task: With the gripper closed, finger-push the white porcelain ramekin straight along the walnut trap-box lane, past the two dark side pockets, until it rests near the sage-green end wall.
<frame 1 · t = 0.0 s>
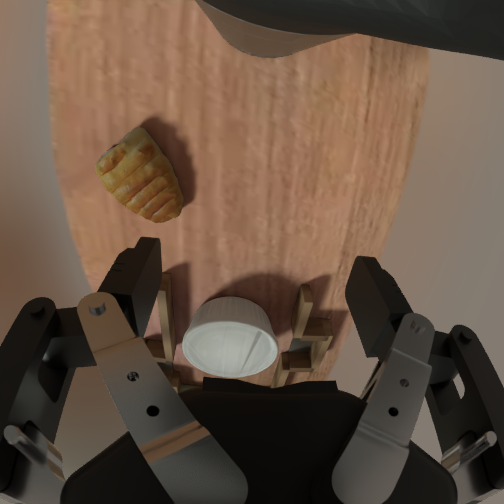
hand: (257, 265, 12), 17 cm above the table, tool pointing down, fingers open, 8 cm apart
ramekin: (231, 319, 39), on the table
pastry: (144, 169, 28), on the table
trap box: (229, 345, 41), on the table
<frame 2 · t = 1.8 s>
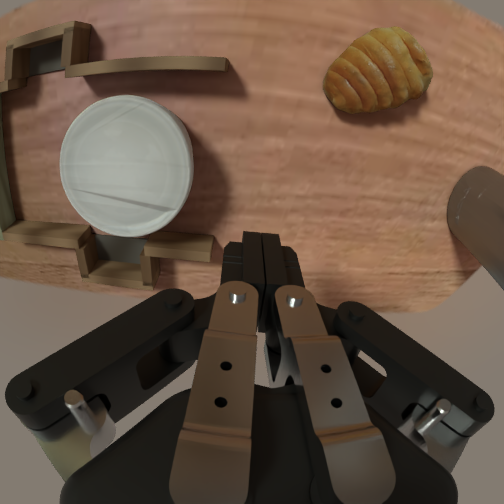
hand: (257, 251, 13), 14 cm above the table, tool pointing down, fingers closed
ramekin: (141, 153, 25), on the table
pastry: (376, 72, 21), on the table
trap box: (91, 154, 24), on the table
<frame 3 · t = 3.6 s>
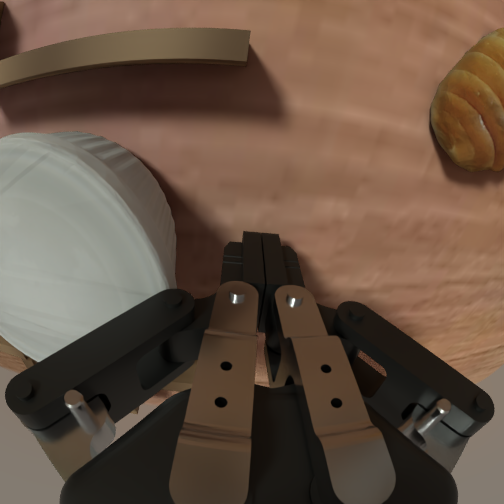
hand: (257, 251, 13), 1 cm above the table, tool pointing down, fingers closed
ramekin: (88, 223, 14), on the table, touching gripper
pastry: (494, 97, 10), on the table
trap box: (17, 222, 13), on the table
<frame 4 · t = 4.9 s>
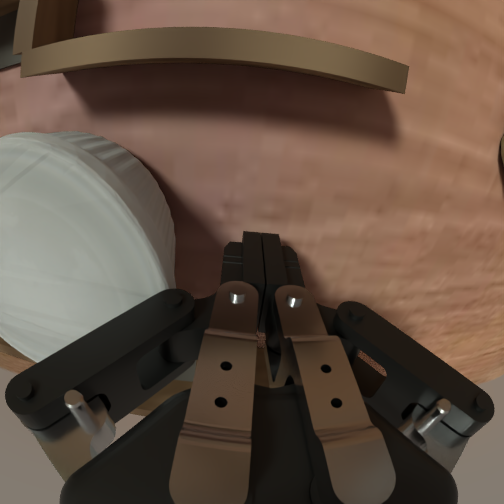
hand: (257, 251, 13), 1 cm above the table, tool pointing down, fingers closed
ramekin: (87, 223, 14), on the table, touching gripper
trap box: (88, 226, 13), on the table
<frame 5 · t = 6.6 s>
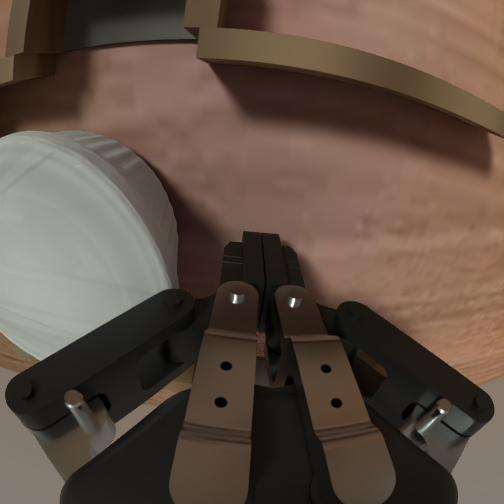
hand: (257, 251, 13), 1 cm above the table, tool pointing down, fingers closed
ramekin: (90, 222, 14), on the table, touching gripper
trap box: (219, 235, 14), on the table
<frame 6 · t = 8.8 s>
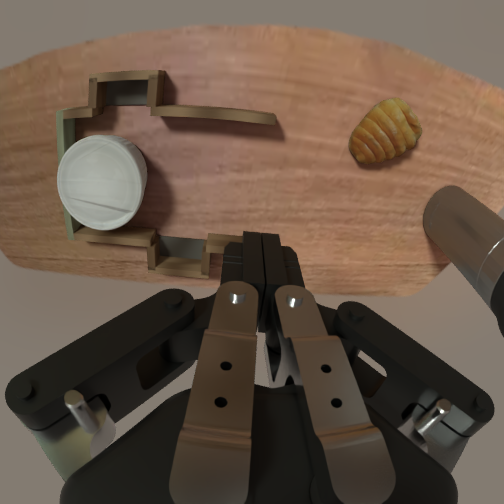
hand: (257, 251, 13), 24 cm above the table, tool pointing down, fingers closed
ramekin: (113, 171, 34), on the table
pastry: (383, 130, 33), on the table
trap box: (163, 174, 35), on the table
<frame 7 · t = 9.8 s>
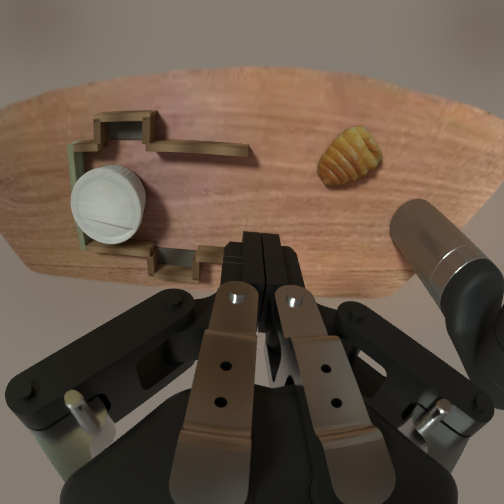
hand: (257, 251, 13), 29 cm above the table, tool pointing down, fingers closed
ramekin: (117, 194, 42), on the table
pastry: (349, 154, 40), on the table
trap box: (159, 196, 42), on the table
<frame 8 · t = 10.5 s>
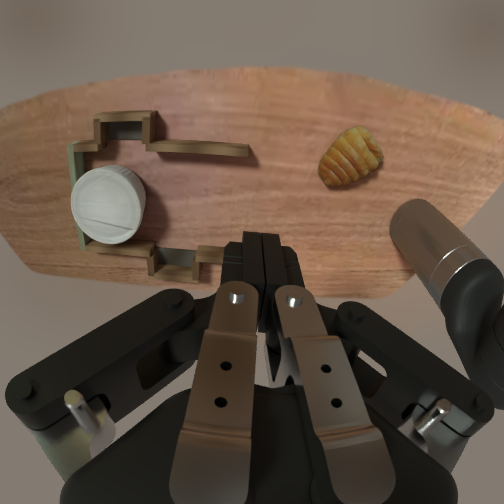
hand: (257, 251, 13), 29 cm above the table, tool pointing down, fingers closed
ramekin: (117, 194, 42), on the table
pastry: (350, 154, 40), on the table
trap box: (159, 196, 42), on the table
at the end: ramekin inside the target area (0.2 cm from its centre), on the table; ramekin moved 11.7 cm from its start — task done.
